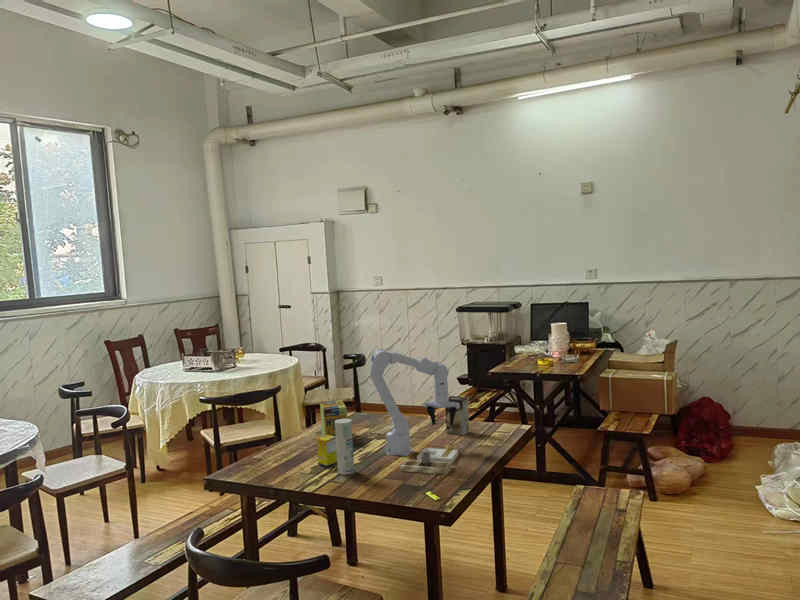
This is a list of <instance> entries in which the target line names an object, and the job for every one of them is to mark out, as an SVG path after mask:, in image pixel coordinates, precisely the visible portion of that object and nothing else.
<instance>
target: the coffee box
mask: <svg viewBox="0 0 800 600" xmlns="http://www.w3.org/2000/svg"><path fill="white" fill-rule="evenodd" d="M448 399H449V402H454V403H459V408H458V409H457V411H456V414H455V417H454V421H453V425H452V426H450V413H449V409H451V408H444V409H445V411H444V413H445V433H446V434H450V433H452V434H451V435H457V434H458V436H465V435H466V434H468V433H469V432H470V425H469V424H470V422H469V421H470V420H469V397H466V396H456V395H449V396H448Z"/></svg>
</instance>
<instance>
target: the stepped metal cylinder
mask: <svg viewBox="0 0 800 600" xmlns="http://www.w3.org/2000/svg"><path fill="white" fill-rule="evenodd" d="M422 451H423V453H421V452H420V453H421V458H422V466H425V467H430V453H429V452H428V449H424V448H423V449H422Z"/></svg>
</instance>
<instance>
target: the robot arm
mask: <svg viewBox="0 0 800 600" xmlns="http://www.w3.org/2000/svg"><path fill="white" fill-rule="evenodd" d="M396 363H399V364H404V365H407V366H409V367H410V366H411V367H414V368H415V369H416V371H417V372H420V373H422V374H426V375H429V376H433V391H434V401H425V402H424V408H426V412H427V414H428V415H429V418H430V420H431V423H432V426H434V425H436V408H437V409H439V408H441V409H442V408H443V409H445V408H451V409H449V413H450V426H452V425H453V421H454V417H455V414H456V411H457V409H458V408H459V403H454V402H449V399H448V397H449V382H448V377H449V374H450V373H449V372H450V371H449V369H448V368H447V366H446V365H444V364H443V363H441V362H438V361H432V360H431V359H430V360H429V359H428V357H425V356H424V357H419V358H418V359H417V358H414V357H411V356H408V355H405V354H402V353H399V352H396V351H392V350H388V349H384V348H378V349H376V350H375V351H374V352H373V354H372V355H371V358H370V367H369V377H370V379H371V381H372V383H373V385H374V387H375V388H376V391H377V392H378V395H379V396H380V398H381V400H382V403H383V404H384V407H385V408H386V410H387V412H388V414H389V416H390V418H391V424H392V426H393V428H392V430H390V431H388V432H387V433H386V437H385V442H386V445H385V446H386V455H388V456H389V455H391V456H406V457H407V456H409V455H410V454H411V453H412V452H413V451H414V448H411V437H410V436H411V435H410V423H409V421H408V420H407V417H406V416H405V415H404V414H403V413H402V412H401V411H400V409H399V406H398V405H397V403H396V401H395V399H394V397H393V394H392V393H391V391H390V389H389V387H388V385H387V383H386V381H385V379H384V378H383V374H384V371H385V369H386V368H387V367H388V366H390V365H394V364H396Z"/></svg>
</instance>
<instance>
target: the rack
mask: <svg viewBox="0 0 800 600" xmlns="http://www.w3.org/2000/svg"><path fill="white" fill-rule="evenodd" d="M451 469H452V464H451V462H435V461H430V467H425V466H422V461H419V460H417V459H406V460H404V462H403V463H402V464H400V472H410V473H421V474H422V473H424V474H437V475H439V474H440V475H448V473H449V472H450V471H451Z"/></svg>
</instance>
